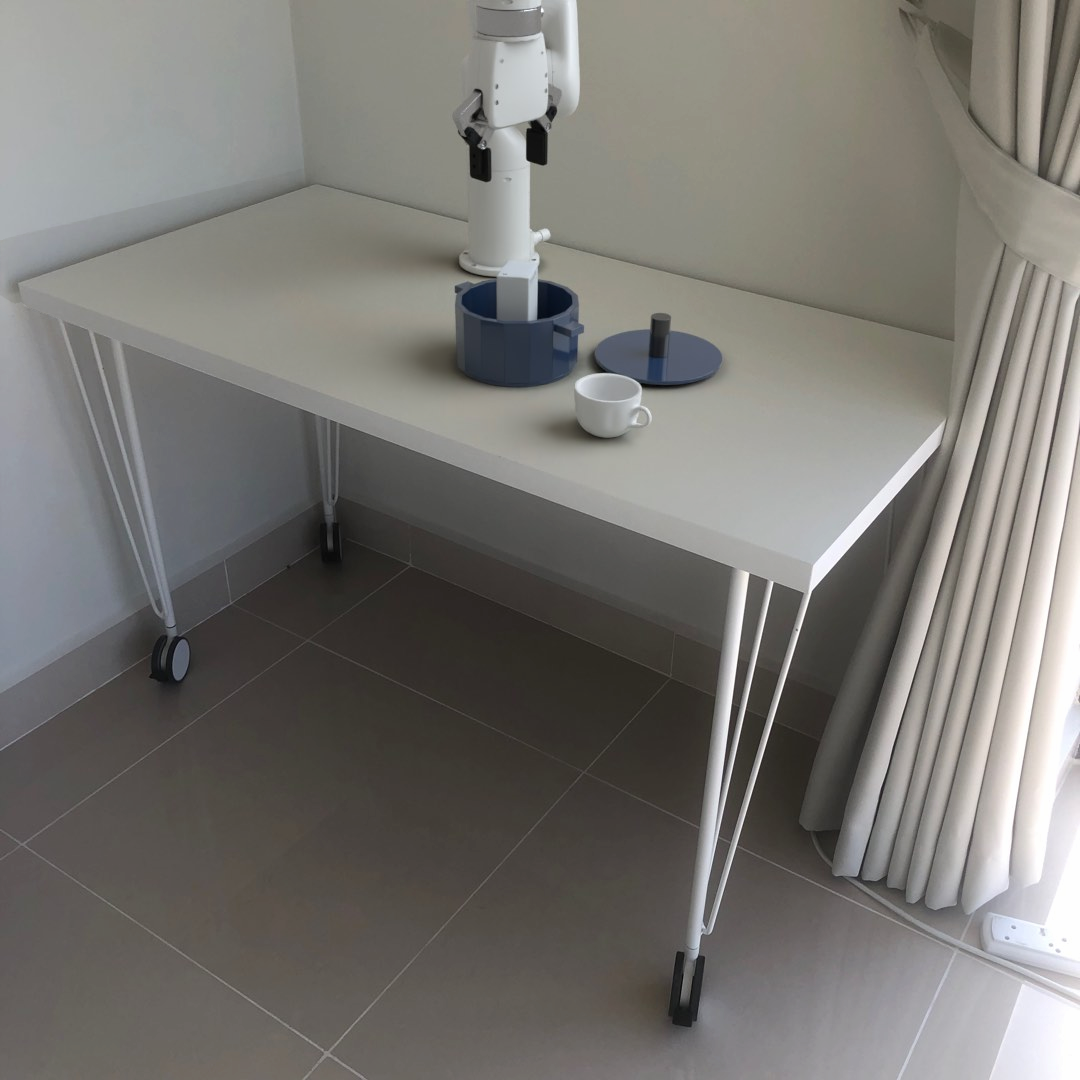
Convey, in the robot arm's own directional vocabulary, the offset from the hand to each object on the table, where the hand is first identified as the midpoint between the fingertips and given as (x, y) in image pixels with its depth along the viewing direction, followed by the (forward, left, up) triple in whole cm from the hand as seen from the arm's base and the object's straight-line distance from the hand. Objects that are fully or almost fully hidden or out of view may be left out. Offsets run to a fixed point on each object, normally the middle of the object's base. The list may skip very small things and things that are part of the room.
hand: (509, 171), depth 144 cm
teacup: (+9, +26, -23) cm, 36 cm away
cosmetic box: (+3, +4, -23) cm, 23 cm away
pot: (+3, +4, -23) cm, 24 cm away
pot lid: (-10, +17, -23) cm, 30 cm away
